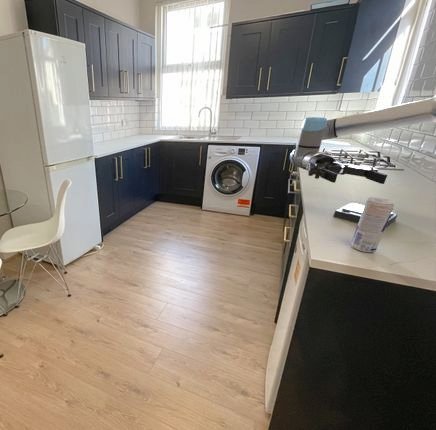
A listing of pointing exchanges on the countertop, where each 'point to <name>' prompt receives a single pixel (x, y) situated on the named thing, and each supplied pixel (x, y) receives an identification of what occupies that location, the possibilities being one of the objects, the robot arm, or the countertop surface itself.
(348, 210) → the scale
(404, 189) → the countertop surface
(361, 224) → the beverage can
